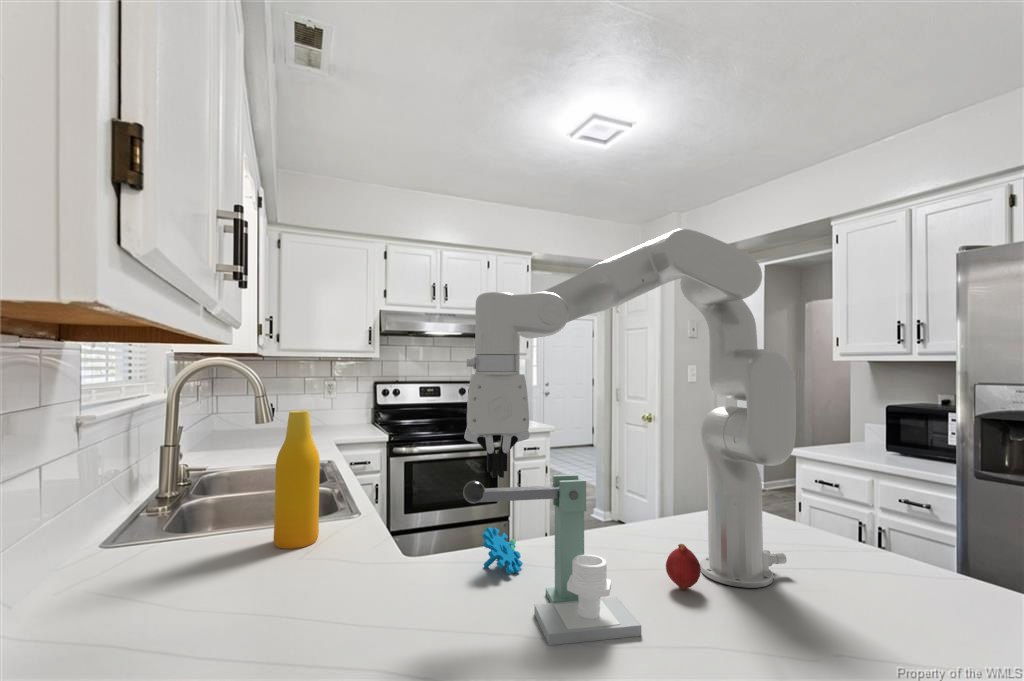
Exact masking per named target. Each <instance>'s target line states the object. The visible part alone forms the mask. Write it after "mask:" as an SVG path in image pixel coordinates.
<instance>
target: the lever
mask: <svg viewBox="0 0 1024 681" xmlns="http://www.w3.org/2000/svg"><path fill="white" fill-rule="evenodd" d="M462 494H463V498H464V500H465V501H467V502H468V503H470V504H478V503H491V502H493V503H495V502H510V501H515V502H516V501H517V502H518V501H531V500H533V501H534V500H551V499H552V500H553V499H559V485H555V486H553V485H536V486H513V487H511V486H510V487H509V486H508V487H490V488H489V487H487V488H486V487H485V486H484V485H483V483H481V482H480V481H477V480H471V481H469V482H467V483H466V484H465V485H464V487H463V492H462Z"/></svg>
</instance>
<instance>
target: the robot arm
mask: <svg viewBox="0 0 1024 681" xmlns="http://www.w3.org/2000/svg"><path fill="white" fill-rule="evenodd" d="M679 279H680V289H681V292H682V294H683V295H684V297H685V298H686V300H687V301H688V302H689V303H691V304H692V305H693V306H694V307H695V308H696V309H697V310H698V311H699V312H700V313H701V314H702V316H703V317H704V319H705V321H706V324H707V328H708V335H709V343H708V344H709V351H708V352H709V360H708V361H709V364H708V365H709V366H708V367H709V368H708V369H709V371H708V373H709V378H708V379H709V383H710V384H709V386H710V389H712V391H713V392H714V394H716V395H717V396H719V397H721V398H724V399H728V400H736V401H746V407H743V406H742V407H741V406H740V407H739V406H733V405H731V406H729V405H728V406H727V405H725V406H717V407H716V408H714V409H712V410H710V411H709V412H707V414H706V415H705V416H704V418H703V419H702V424H701V428H700V430H701V431H700V435H701V441H702V442H701V443H702V446H703V450H704V456H705V463H706V476H707V477H706V478H707V479H706V480H707V481H706V482H707V537H708V538H707V539H708V548H707V549H708V557H705V558H703V559H702V560H700V561H699V564H700V568H701V572H700V573H702V574H703V575H704V576H705V577H707V578H709V580H713V581H715V582H717V583H720V584H723V585H726V586H730V587H731V586H732V587H736V588H743V589H745V588H746V589H758V588H764V587H768V586H769V585H771V584H772V583H773V582H774V575H773V574H774V573H773V571H772V570H771V569H770V568H769V567H772V565H783V564H787V556H786V554H785V553H784V552H773V553H771V551H770V550H769V549H764V538H763V537H764V536H763V535H764V533H763V532H764V531H763V488H762V487H763V486H762V485H763V483H762V479H761V474H760V471H759V468H758V464H759V465H763V466H770V467H771V466H772V467H773V466H779V465H781V464H784V462H786V461H787V460H788V459H789V458H791V457H790V456H791V455H792V453H793V451H794V449H795V443H796V435H797V432H796V430H797V428H796V427H797V422H796V420H797V419H796V418H797V417H796V416H797V413H796V412H797V410H796V408H797V407H796V406H797V404H796V403H797V401H796V398H797V396H796V395H797V393H796V392H797V391H796V389H797V388H796V377H795V372H794V369H793V367H792V365H791V363H790V361H789V360H788V359H787V358H786V357H785V356H784V354H782V353H780V352H778V351H776V350H772V349H768V348H767V349H766V348H764V349H763V348H762V349H761V348H759V346H758V337H757V336H758V335H757V331H758V330H757V323H756V319H755V317H754V314H753V312H752V311H751V310H752V309H750V307H749V305H748V304H747V303H746V302H745V301H744V299H747V298H749V297H751V296H752V295H753V294H755V293H756V292H757V291H758V289H759V288H760V286H761V283H762V279H763V272H762V268H761V266H760V263H759V262H758V261H757V259H756V258H755V257H754V256H753V255H751V254H750V253H749V252H747V251H745V250H743V249H741V248H739V247H736V246H733V245H731V244H729V243H727V242H724V241H722V240H719V239H717V238H716V237H713V236H710V235H708V234H705V233H702V232H700V231H696V230H693V229H690V228H677V229H674V230H671V231H670V232H667V233H665V234H662V235H661V236H658V237H656V238H654V239H651V240H648V241H646V242H645V243H642V244H640V245H637V246H635V247H632V248H630V249H628V250H626V251H623V252H622V253H618V254H616V255H614V256H612V257H610V258H608V259H604V260H603V261H600V262H598V263H596V264H594V265H592V266H590V267H588V268H586V269H585V270H582V271H581V272H579V273H577V274H576V275H574V276H572V277H570V278H568V279H566V280H564V281H562V282H559V283H558V284H556V285H553V286H551V287H548V288H547V289H545V290H542V291H537V292H529V293H528V292H527V293H511V292H505V291H504V292H503V291H491V292H490V291H489V292H483V293H481V294H479V295H478V296H477V297H476V300H475V311H474V312H475V316H474V317H475V318H474V320H475V328H474V329H475V330H474V331H475V336H474V337H475V340H474V341H475V342H474V344H475V346H474V350H475V351H474V352H475V355H474V356H473V357H471V358H467V359H466V367H467V368H471V369H473V370H474V374H470V378H469V379H470V380H469V384H468V385H469V386H468V394H467V402H466V404H467V405H466V429H465V432H464V437H463V438H464V439H465V441H468V442H471V443H476V444H479V446H481V447H482V448H483V449H484V450H485V452H486V471H487V473H489V474H490V476H491V478H492V479H496V478H497V477H499V478H503V479H505V478H504V477H505V472H508V453H509V452H510V450H511V449H512V448H513V447H515V445H516V443H519V442H523V441H525V440H529V439H530V432H529V430H530V413H529V412H530V411H529V396H528V387H527V381H526V376H525V374H521V372H520V371H521V370H520V369H521V368H520V362H521V360H520V358H521V355H520V346H521V345H520V342H521V341H520V340H521V339H520V337H522V338H525V339H537V338H544V337H551V336H554V335H556V334H557V333H559V332H561V330H563V329H564V328H565V326H566V325H567V323H569V322H572V321H575V320H577V319H579V318H582V317H586V316H590V315H592V314H596V313H601V312H605V311H608V310H610V309H613V308H615V307H618V306H620V305H621V306H622V305H623V304H624V303H627V302H628V301H631V300H633V299H636V298H637V297H640V296H642V295H644V294H646V293H648V292H651V291H653V290H655V289H656V288H659V287H661V286H663V285H665V284H668V283H670V282H673V281H676V280H679ZM758 348H759V349H758ZM493 436H500V444H499V447H498V450H497V451H496V449H495V447H494V438H493Z"/></svg>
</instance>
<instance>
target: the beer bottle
mask: <svg viewBox="0 0 1024 681" xmlns="http://www.w3.org/2000/svg"><path fill="white" fill-rule="evenodd" d="M286 426H287V427H286V434H285V437H284V438H285V439H284V441H283V444H282V445H281V447H280V449H279V451H278V454H277V458H276V462H275V479H274V480H275V483H274V484H275V485H274V486H275V489H274V490H275V491H274V519H273V520H274V521H273V522H274V523H273V526H274V527H273V543H274V545H275V547H277V548H279V549H283V550H293V549H295V550H296V549H300V548H305V547H309V546H310V545H313V544H314V543H316V542H317V540H318V539H319V532H320V531H319V530H320V529H319V526H320V524H319V523H320V521H319V519H320V518H319V517H320V516H319V515H320V514H319V512H320V509H319V508H320V472H321V470H320V468H321V466H320V465H321V459H320V454H319V451H318V448H317V446H316V444H315V443H314V442H315V441H314V439H313V437H312V428H311V427H312V425H311V416H310V411H309V410H291V411H289V414H288V419H287V425H286Z"/></svg>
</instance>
